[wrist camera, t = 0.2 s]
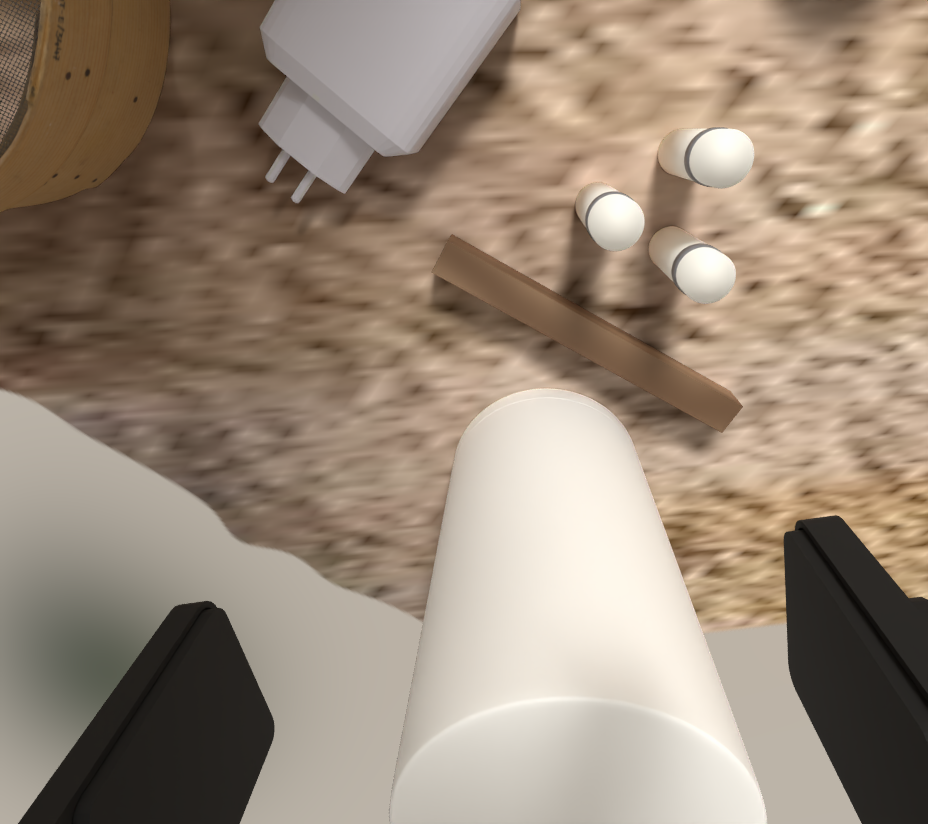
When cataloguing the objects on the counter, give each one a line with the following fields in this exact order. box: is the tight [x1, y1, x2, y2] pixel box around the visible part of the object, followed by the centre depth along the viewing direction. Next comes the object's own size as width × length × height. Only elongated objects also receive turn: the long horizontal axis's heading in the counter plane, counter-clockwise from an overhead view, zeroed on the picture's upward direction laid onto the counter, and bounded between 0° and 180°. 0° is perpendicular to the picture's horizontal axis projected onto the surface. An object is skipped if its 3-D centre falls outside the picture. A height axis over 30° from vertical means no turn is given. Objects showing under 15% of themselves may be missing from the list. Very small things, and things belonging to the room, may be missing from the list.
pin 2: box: [648, 226, 736, 304], centre depth 34 cm, size 2×2×8 cm
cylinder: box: [389, 388, 767, 824], centre depth 33 cm, size 12×12×25 cm
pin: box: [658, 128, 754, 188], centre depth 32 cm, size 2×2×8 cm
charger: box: [259, 0, 520, 203], centre depth 34 cm, size 5×9×15 cm
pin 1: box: [575, 182, 644, 251], centre depth 33 cm, size 2×2×8 cm
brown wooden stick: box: [432, 235, 743, 433], centre depth 39 cm, size 2×20×2 cm, turn 62°
